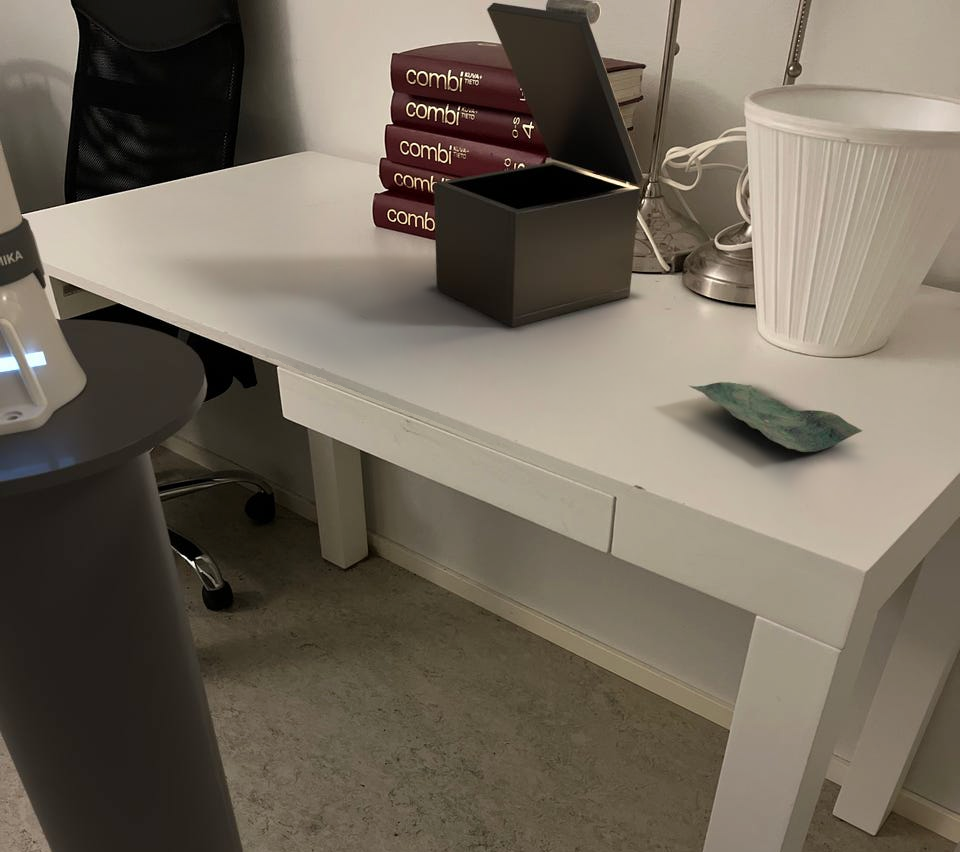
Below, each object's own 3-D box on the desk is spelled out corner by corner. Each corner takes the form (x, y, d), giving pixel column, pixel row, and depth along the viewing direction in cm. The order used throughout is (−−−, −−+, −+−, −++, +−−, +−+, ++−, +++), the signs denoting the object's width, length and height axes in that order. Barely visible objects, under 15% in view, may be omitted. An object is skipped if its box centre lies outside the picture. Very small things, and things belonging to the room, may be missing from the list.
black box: (512, 327, 98) (515, 213, 91) (436, 289, 107) (433, 182, 100) (629, 296, 105) (640, 187, 98) (549, 263, 114) (553, 161, 107)
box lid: (579, 23, 85) (620, -18, 85) (486, 9, 94) (523, -28, 94) (637, 185, 98) (673, 149, 98) (551, 159, 107) (583, 126, 107)
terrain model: (682, 404, 83) (685, 383, 82) (750, 389, 86) (755, 369, 85) (785, 467, 74) (791, 445, 73) (857, 449, 78) (864, 427, 76)
